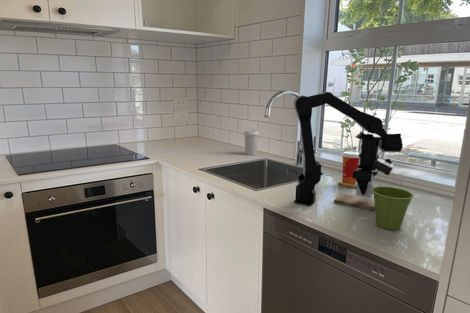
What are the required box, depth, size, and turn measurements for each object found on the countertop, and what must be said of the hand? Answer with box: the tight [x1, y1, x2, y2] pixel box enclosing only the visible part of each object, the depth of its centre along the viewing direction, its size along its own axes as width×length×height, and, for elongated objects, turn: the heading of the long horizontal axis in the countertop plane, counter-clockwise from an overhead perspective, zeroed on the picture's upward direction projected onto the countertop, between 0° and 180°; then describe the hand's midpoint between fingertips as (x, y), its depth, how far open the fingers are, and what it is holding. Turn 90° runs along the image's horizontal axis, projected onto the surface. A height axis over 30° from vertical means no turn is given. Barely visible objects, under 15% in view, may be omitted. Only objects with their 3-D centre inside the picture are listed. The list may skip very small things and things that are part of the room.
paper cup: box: [341, 151, 360, 185], centre depth 147 cm, size 8×8×14 cm
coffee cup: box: [243, 129, 260, 156], centre depth 206 cm, size 10×10×15 cm
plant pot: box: [372, 185, 415, 231], centre depth 104 cm, size 12×12×11 cm
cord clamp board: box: [333, 182, 380, 212], centre depth 123 cm, size 18×9×8 cm, turn 58°
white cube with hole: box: [355, 181, 375, 199], centre depth 122 cm, size 5×5×5 cm
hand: (364, 192), depth 122 cm, fingers closed on white cube with hole, 5 cm apart
